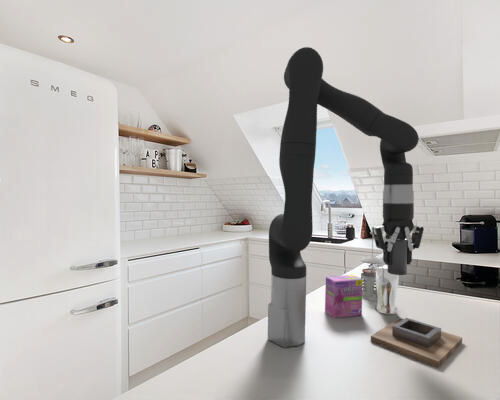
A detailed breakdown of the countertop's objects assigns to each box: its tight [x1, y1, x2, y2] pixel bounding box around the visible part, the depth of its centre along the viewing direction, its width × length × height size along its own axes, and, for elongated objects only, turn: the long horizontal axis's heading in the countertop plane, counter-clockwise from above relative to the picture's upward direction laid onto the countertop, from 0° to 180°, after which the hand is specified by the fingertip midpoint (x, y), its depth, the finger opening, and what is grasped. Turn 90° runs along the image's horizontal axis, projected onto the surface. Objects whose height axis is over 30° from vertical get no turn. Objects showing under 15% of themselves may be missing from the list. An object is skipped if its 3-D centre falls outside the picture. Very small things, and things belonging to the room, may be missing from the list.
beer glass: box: [375, 263, 399, 316], centre depth 101 cm, size 7×7×15 cm
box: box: [324, 274, 364, 319], centre depth 99 cm, size 10×6×12 cm, turn 105°
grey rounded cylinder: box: [387, 239, 408, 276], centre depth 83 cm, size 5×5×9 cm
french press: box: [360, 230, 384, 302], centre depth 115 cm, size 10×12×25 cm
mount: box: [370, 317, 463, 369], centre depth 80 cm, size 18×16×4 cm
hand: (397, 263), depth 83 cm, fingers closed on grey rounded cylinder, 4 cm apart
